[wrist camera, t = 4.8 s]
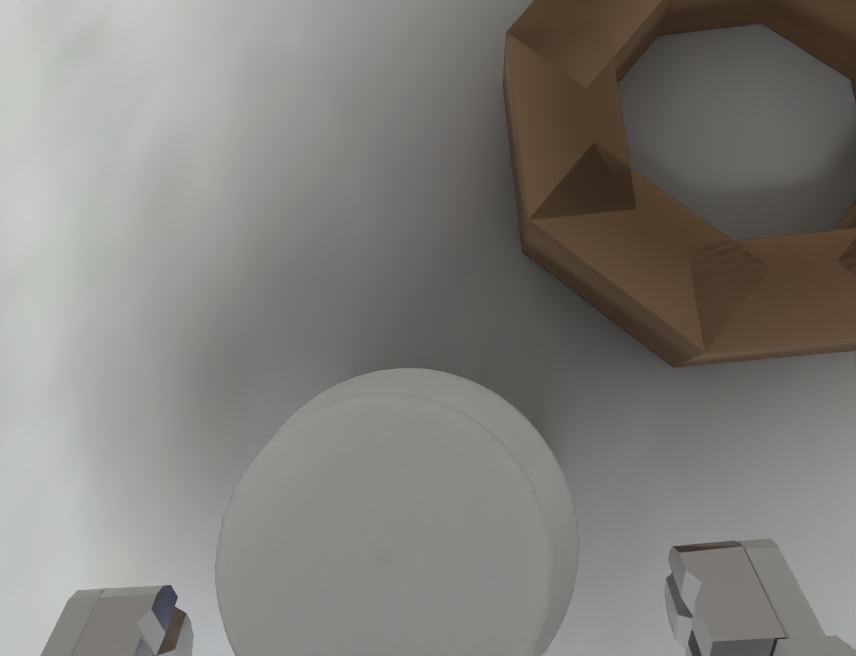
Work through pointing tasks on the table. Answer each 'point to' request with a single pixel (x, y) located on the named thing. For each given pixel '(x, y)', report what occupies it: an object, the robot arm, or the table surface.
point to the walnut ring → (653, 208)
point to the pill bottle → (399, 527)
